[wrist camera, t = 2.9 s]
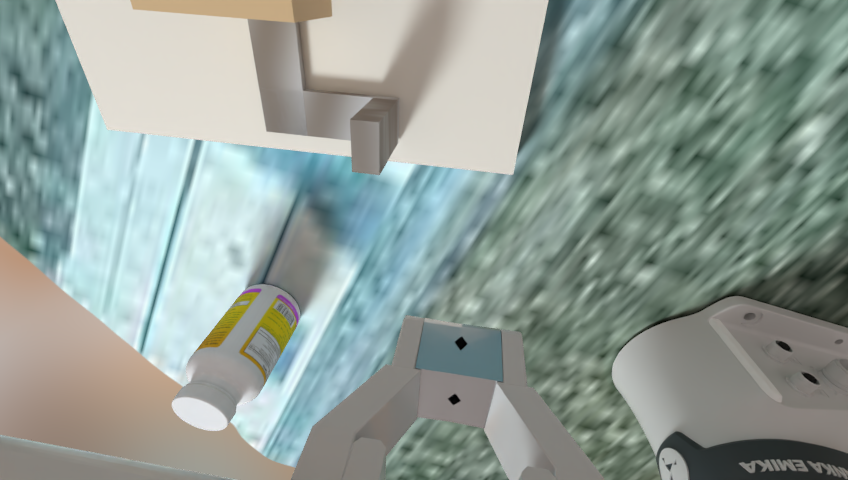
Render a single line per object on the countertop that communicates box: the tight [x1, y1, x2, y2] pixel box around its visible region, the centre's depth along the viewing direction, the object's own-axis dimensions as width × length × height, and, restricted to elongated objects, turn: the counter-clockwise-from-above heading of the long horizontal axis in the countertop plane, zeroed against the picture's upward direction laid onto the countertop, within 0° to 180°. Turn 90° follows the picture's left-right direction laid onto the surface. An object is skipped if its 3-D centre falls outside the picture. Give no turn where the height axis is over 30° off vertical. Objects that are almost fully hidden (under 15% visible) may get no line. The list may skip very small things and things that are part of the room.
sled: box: [247, 19, 399, 175], centre depth 21 cm, size 10×15×6 cm
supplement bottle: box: [172, 284, 300, 431], centre depth 36 cm, size 7×7×13 cm
